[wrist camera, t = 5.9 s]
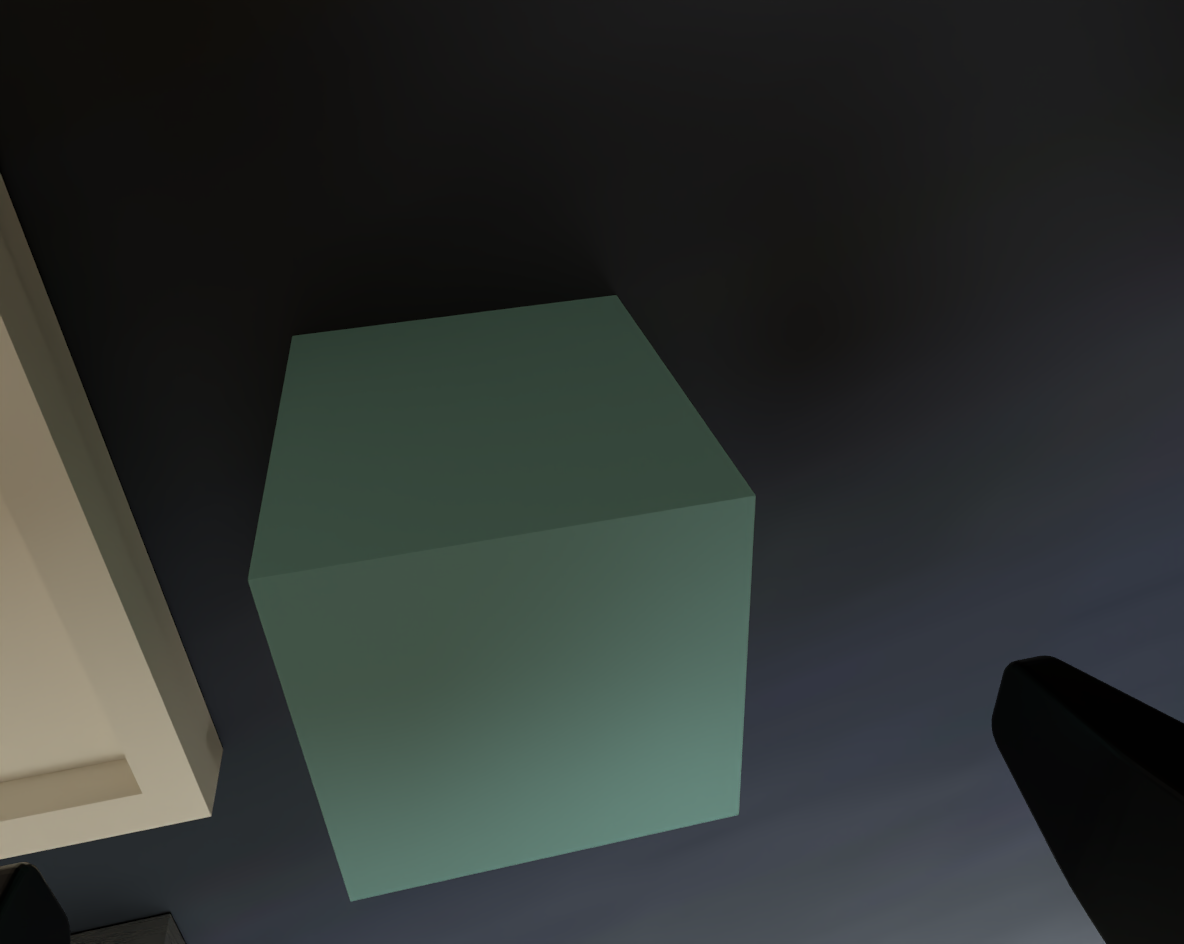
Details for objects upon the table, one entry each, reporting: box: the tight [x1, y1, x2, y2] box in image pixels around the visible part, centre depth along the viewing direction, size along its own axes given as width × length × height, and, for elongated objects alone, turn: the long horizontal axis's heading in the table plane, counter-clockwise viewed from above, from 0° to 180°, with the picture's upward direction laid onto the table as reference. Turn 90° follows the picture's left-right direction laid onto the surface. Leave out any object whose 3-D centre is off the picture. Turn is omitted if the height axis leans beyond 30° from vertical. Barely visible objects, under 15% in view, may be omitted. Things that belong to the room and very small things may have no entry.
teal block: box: [248, 295, 756, 901], centre depth 11 cm, size 4×4×6 cm
